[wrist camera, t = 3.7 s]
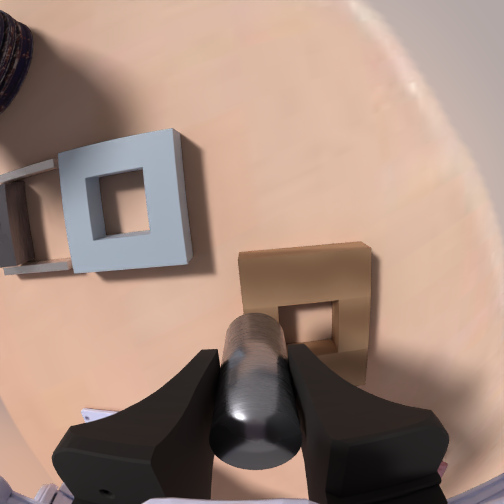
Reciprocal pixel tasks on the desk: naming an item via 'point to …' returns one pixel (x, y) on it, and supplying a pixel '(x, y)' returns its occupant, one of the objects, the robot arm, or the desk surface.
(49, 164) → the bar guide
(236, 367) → the lock pin
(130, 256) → the socket block
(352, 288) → the mount block
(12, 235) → the bar
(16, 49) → the storage jar
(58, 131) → the desk surface
